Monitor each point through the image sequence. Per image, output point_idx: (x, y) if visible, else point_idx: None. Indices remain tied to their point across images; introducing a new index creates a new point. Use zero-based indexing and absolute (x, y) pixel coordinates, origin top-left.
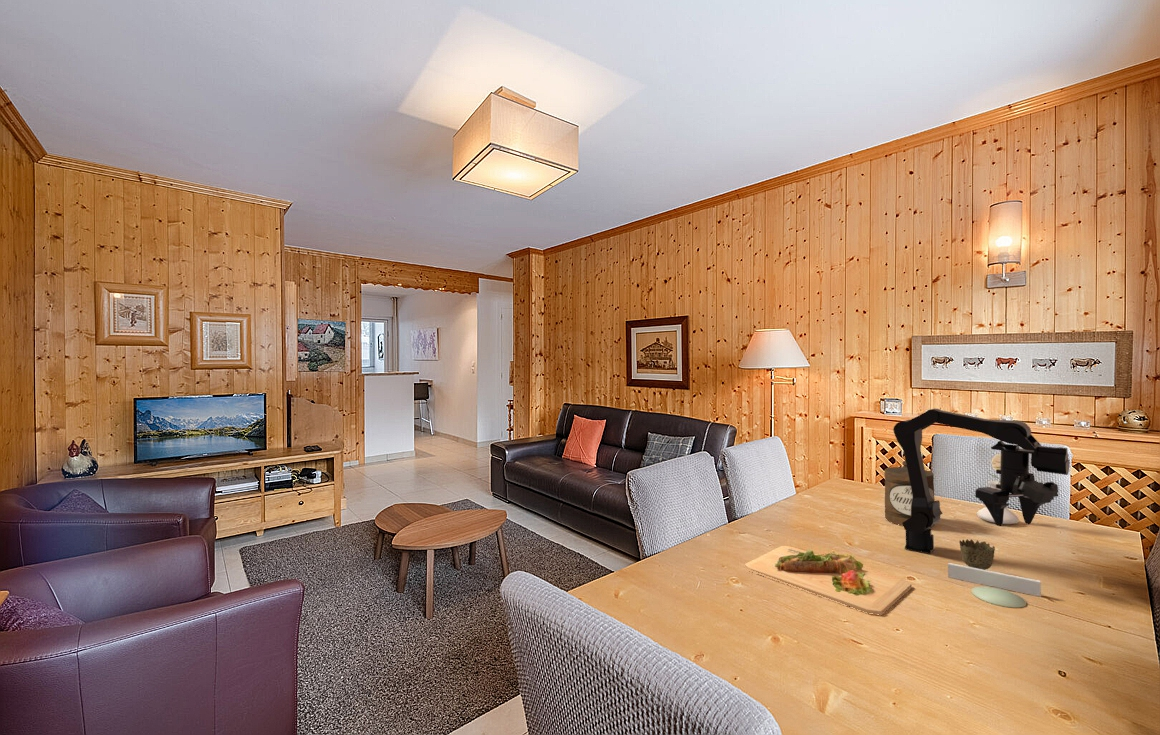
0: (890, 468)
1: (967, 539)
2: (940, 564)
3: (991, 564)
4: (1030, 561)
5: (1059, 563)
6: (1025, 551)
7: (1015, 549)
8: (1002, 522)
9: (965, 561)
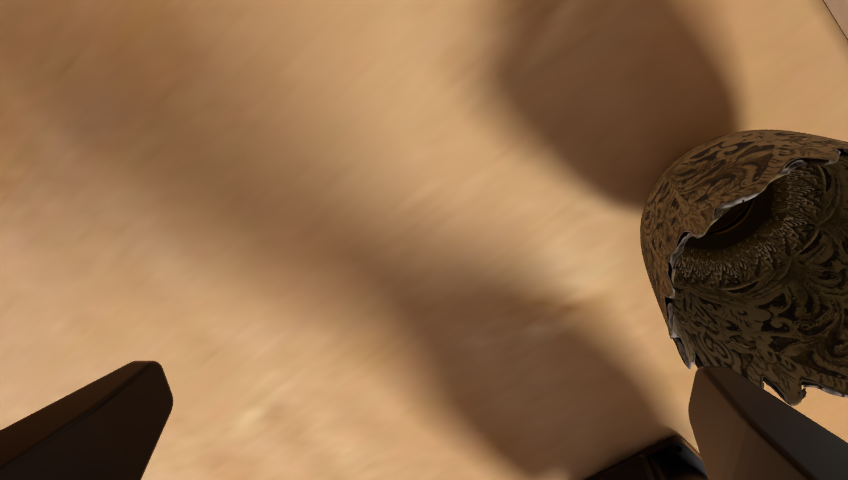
0: None
1: None
2: None
3: (721, 138)
4: (203, 266)
5: (58, 216)
6: None
7: None
8: (748, 408)
9: (829, 233)
